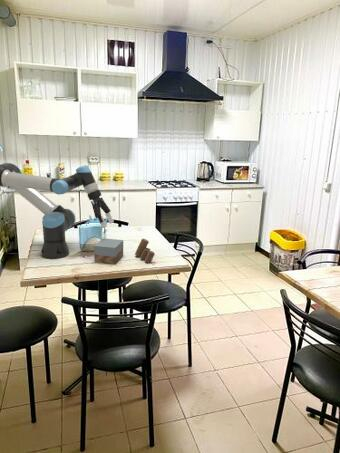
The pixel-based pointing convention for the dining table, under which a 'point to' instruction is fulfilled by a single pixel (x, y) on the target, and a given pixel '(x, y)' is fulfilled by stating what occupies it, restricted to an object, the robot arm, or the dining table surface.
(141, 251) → the wooden block set
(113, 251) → the tower top
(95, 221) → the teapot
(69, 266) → the dining table surface
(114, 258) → the tower base
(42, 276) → the dining table surface
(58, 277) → the dining table surface
